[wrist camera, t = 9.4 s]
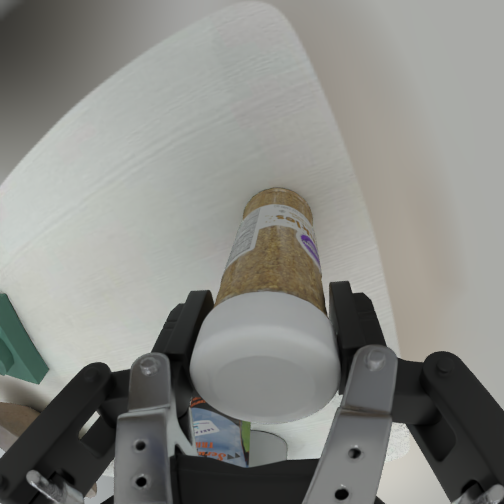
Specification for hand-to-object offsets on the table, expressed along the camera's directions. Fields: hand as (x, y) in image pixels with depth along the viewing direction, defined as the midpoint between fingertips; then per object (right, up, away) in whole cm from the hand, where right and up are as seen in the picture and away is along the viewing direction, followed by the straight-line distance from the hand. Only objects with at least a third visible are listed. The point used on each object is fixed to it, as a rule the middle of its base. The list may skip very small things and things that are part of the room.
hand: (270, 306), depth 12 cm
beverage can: (-3, -13, +18) cm, 22 cm away
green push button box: (-33, -8, +18) cm, 39 cm away
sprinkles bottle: (+1, +4, +8) cm, 10 cm away
